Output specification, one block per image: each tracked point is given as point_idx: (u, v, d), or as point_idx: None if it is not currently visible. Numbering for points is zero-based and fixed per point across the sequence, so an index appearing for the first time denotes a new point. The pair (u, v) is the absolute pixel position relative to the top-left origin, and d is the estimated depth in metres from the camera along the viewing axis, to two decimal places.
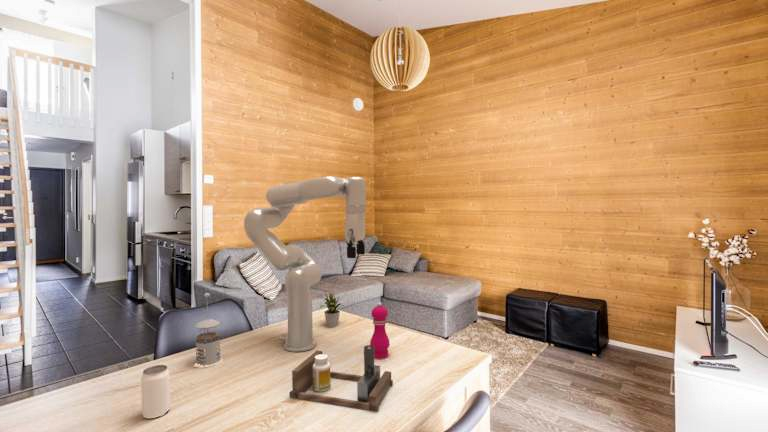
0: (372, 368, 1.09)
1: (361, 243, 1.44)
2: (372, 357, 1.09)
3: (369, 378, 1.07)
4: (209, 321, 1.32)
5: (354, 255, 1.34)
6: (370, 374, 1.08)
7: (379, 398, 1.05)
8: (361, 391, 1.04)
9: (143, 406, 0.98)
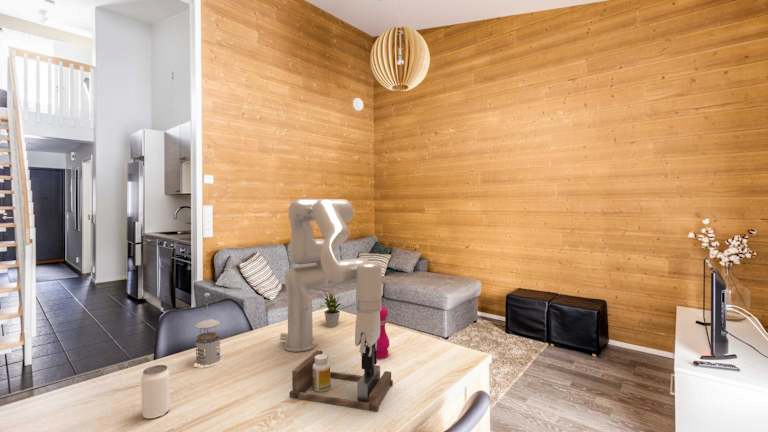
0: None
1: None
2: None
3: (369, 378, 1.07)
4: (209, 321, 1.32)
5: (371, 366, 1.07)
6: (370, 374, 1.08)
7: (379, 398, 1.05)
8: (361, 391, 1.04)
9: (143, 406, 0.98)
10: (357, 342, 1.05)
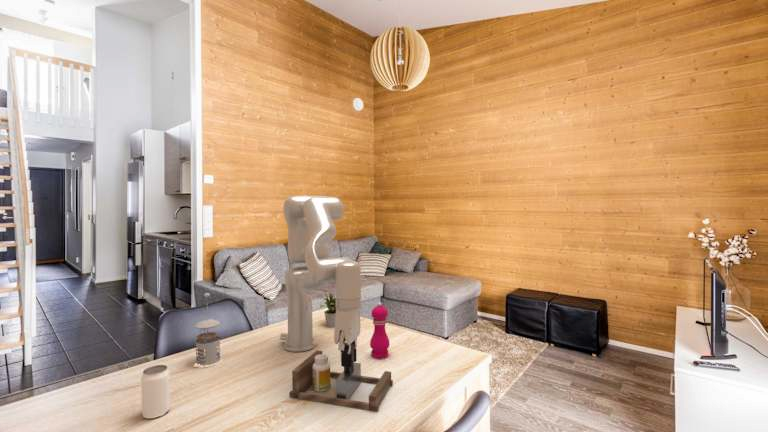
0: None
1: None
2: None
3: (348, 375, 1.09)
4: (209, 321, 1.32)
5: (350, 364, 1.09)
6: (349, 371, 1.10)
7: (379, 398, 1.05)
8: (340, 388, 1.06)
9: (143, 406, 0.98)
10: (336, 340, 1.07)
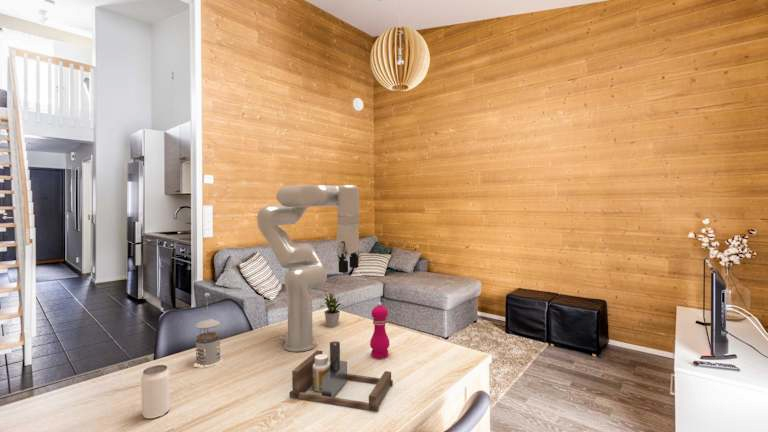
0: (337, 364, 1.12)
1: (354, 256, 1.34)
2: (337, 353, 1.12)
3: (334, 373, 1.10)
4: (209, 321, 1.32)
5: (346, 269, 1.25)
6: (335, 369, 1.11)
7: (379, 398, 1.05)
8: (326, 386, 1.07)
9: (143, 406, 0.98)
10: None
